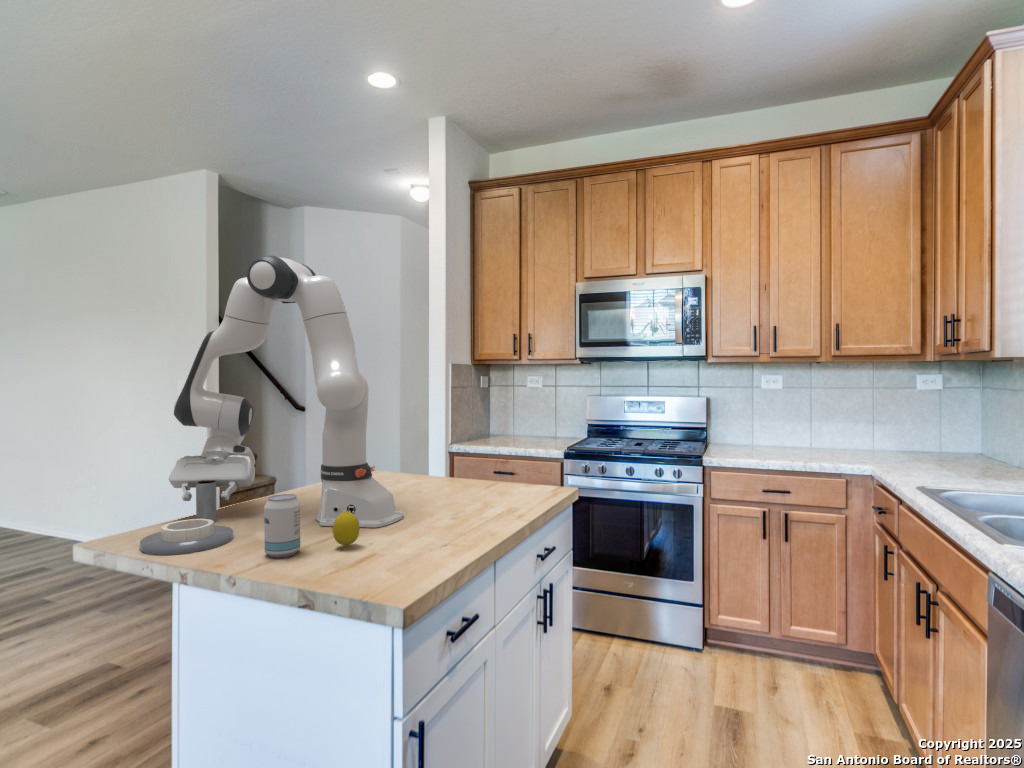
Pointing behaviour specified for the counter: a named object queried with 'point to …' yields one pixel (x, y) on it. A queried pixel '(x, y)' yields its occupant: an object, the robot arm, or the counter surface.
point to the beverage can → (282, 525)
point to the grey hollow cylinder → (206, 500)
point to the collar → (186, 537)
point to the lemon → (346, 528)
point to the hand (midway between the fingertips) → (205, 499)
